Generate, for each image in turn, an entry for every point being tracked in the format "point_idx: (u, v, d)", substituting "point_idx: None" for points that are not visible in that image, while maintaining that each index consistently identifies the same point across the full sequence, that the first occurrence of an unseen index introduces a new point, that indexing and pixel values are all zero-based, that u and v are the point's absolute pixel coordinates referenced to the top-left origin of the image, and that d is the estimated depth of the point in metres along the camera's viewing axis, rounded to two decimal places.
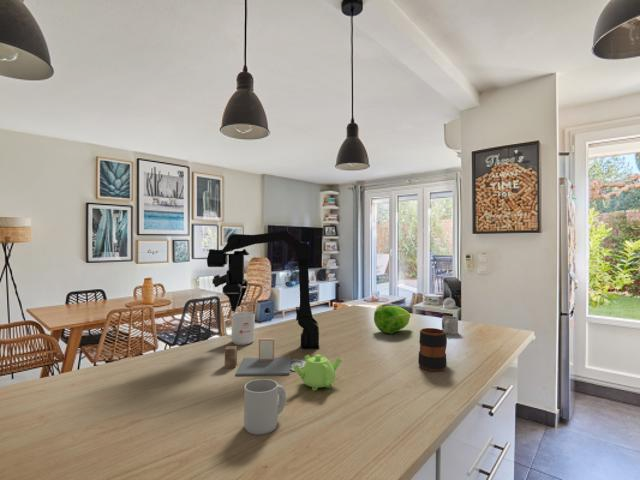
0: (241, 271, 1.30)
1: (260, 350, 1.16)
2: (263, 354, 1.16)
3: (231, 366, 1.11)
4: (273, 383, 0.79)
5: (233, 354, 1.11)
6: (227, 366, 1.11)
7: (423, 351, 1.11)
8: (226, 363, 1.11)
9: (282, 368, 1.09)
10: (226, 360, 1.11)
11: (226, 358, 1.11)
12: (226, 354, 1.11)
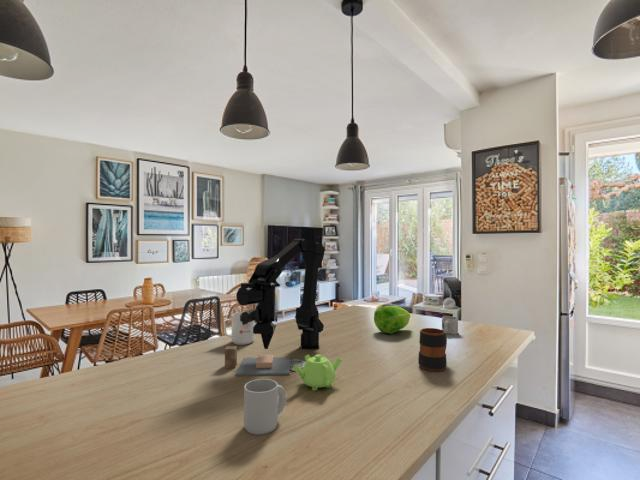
0: (273, 306, 1.14)
1: None
2: None
3: (231, 366, 1.11)
4: (273, 383, 0.79)
5: (233, 354, 1.11)
6: (227, 366, 1.11)
7: (423, 351, 1.11)
8: (226, 363, 1.11)
9: (282, 368, 1.09)
10: (226, 360, 1.11)
11: (226, 358, 1.11)
12: (226, 354, 1.11)
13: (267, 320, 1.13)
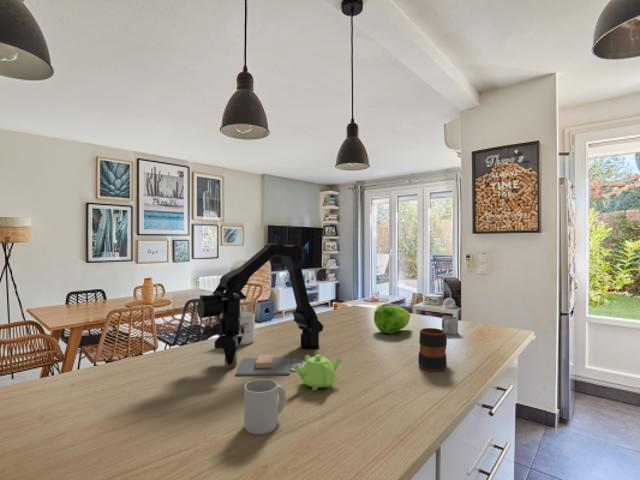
0: (237, 319, 1.11)
1: None
2: None
3: (231, 366, 1.11)
4: (273, 383, 0.79)
5: None
6: (227, 366, 1.11)
7: (423, 351, 1.11)
8: (226, 363, 1.11)
9: (282, 368, 1.09)
10: (226, 360, 1.11)
11: None
12: None
13: (231, 333, 1.10)
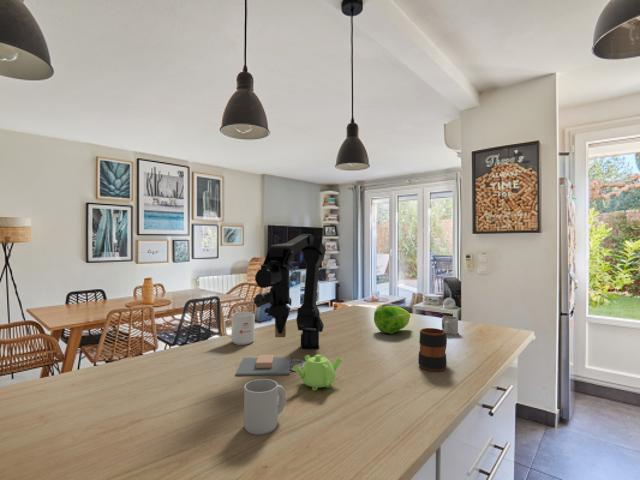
0: (287, 289, 1.11)
1: None
2: None
3: (281, 335, 1.12)
4: (273, 383, 0.79)
5: None
6: (277, 335, 1.12)
7: (423, 351, 1.11)
8: (276, 332, 1.12)
9: (282, 368, 1.09)
10: (276, 329, 1.12)
11: (276, 327, 1.12)
12: None
13: (282, 303, 1.11)
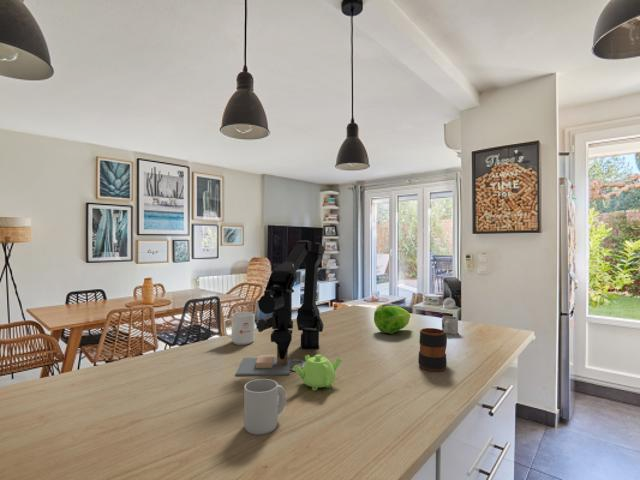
0: (289, 313, 1.11)
1: None
2: None
3: (283, 363, 1.12)
4: (273, 383, 0.79)
5: None
6: (279, 363, 1.12)
7: (423, 351, 1.11)
8: (278, 360, 1.12)
9: (282, 368, 1.09)
10: (278, 357, 1.12)
11: (278, 355, 1.12)
12: (278, 351, 1.12)
13: (284, 327, 1.11)
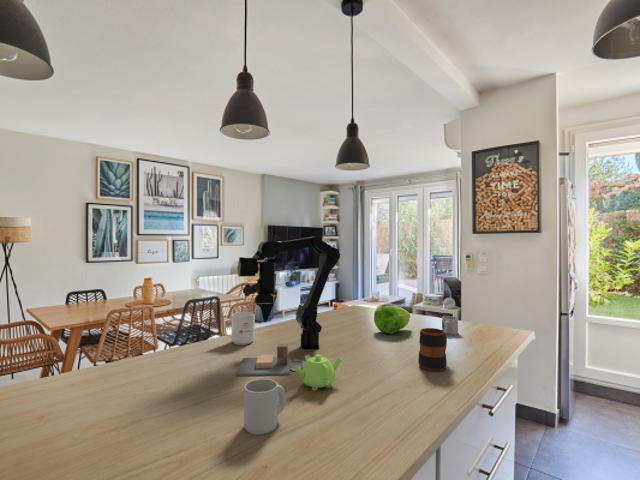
0: (273, 280, 1.25)
1: None
2: None
3: (283, 363, 1.12)
4: (273, 383, 0.79)
5: (285, 351, 1.12)
6: (279, 363, 1.12)
7: (423, 351, 1.11)
8: (278, 360, 1.12)
9: (282, 368, 1.09)
10: (278, 357, 1.12)
11: (278, 355, 1.12)
12: (278, 351, 1.12)
13: (268, 292, 1.25)
